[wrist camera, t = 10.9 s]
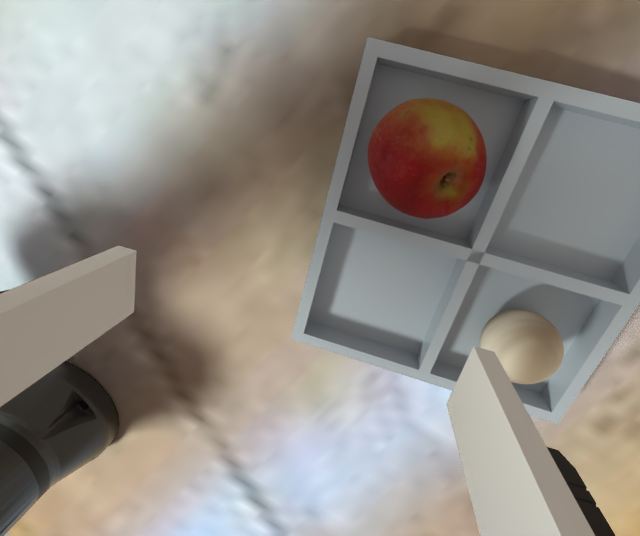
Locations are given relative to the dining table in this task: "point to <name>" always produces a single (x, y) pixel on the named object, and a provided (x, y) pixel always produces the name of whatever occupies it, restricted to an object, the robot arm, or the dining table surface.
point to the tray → (481, 229)
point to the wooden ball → (524, 345)
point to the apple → (427, 158)
